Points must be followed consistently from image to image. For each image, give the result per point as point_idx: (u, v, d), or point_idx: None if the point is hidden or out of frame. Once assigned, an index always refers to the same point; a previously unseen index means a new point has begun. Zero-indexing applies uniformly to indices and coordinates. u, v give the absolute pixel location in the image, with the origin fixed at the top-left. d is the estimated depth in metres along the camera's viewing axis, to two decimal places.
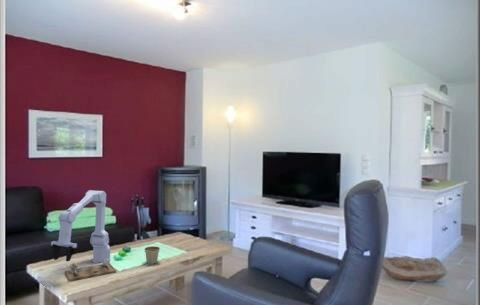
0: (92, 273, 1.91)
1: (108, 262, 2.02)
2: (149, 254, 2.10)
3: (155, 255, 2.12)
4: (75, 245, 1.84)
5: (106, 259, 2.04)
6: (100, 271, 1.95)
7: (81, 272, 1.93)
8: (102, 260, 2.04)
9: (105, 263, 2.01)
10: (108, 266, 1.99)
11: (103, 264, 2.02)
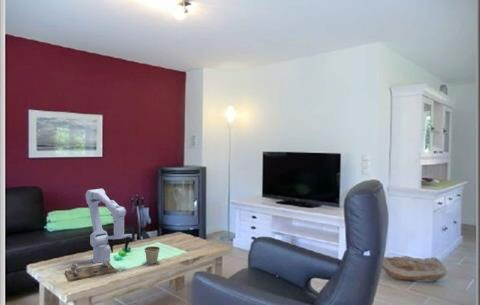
0: (92, 273, 1.91)
1: (108, 262, 2.02)
2: (149, 254, 2.10)
3: (155, 255, 2.12)
4: None
5: (106, 259, 2.04)
6: (100, 271, 1.95)
7: (81, 272, 1.93)
8: (102, 260, 2.04)
9: (105, 263, 2.01)
10: (108, 266, 1.99)
11: (103, 264, 2.02)
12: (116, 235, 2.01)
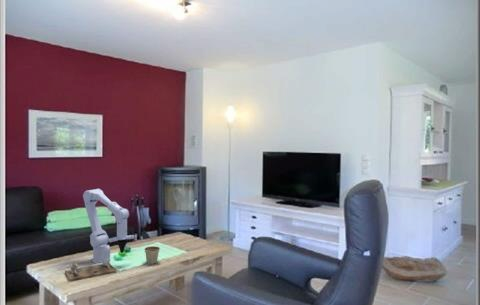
0: (92, 273, 1.91)
1: (108, 262, 2.02)
2: (149, 254, 2.10)
3: (155, 255, 2.12)
4: None
5: (106, 259, 2.04)
6: (100, 271, 1.95)
7: (81, 272, 1.93)
8: (102, 260, 2.04)
9: (105, 263, 2.01)
10: (108, 266, 1.99)
11: (103, 264, 2.02)
12: (120, 236, 2.05)
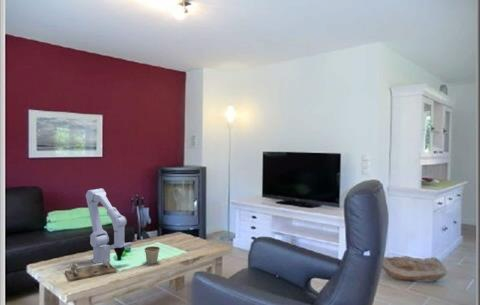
0: (92, 273, 1.91)
1: (108, 262, 2.02)
2: (149, 254, 2.10)
3: (155, 255, 2.12)
4: None
5: (106, 259, 2.04)
6: (100, 271, 1.95)
7: (81, 272, 1.93)
8: (102, 260, 2.04)
9: (105, 263, 2.01)
10: (108, 266, 1.99)
11: (103, 264, 2.02)
12: (117, 244, 2.05)
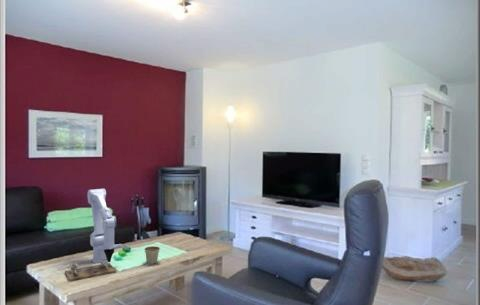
0: (92, 273, 1.91)
1: (106, 262, 2.02)
2: (149, 254, 2.10)
3: (155, 255, 2.12)
4: None
5: (104, 259, 2.03)
6: (100, 271, 1.95)
7: (81, 272, 1.93)
8: None
9: (103, 263, 2.01)
10: (106, 266, 1.98)
11: (101, 264, 2.02)
12: (107, 246, 2.01)
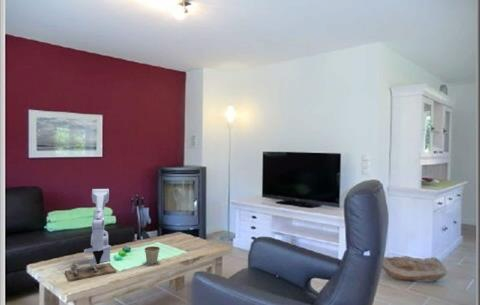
0: (92, 273, 1.91)
1: (95, 264, 1.98)
2: (149, 254, 2.10)
3: (155, 255, 2.12)
4: None
5: (93, 261, 1.99)
6: (100, 271, 1.95)
7: (81, 272, 1.93)
8: None
9: (92, 265, 1.97)
10: (95, 268, 1.94)
11: (90, 266, 1.98)
12: (95, 247, 1.98)
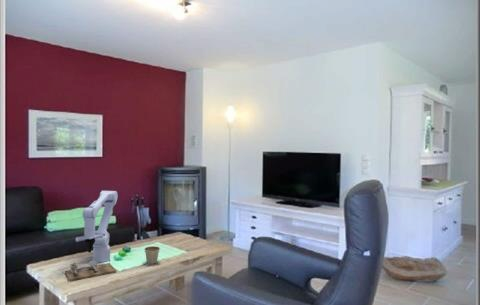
0: (92, 273, 1.91)
1: (95, 264, 1.98)
2: (149, 254, 2.10)
3: (155, 255, 2.12)
4: None
5: (93, 261, 1.99)
6: (100, 271, 1.95)
7: (81, 272, 1.93)
8: None
9: (92, 265, 1.97)
10: (95, 268, 1.94)
11: (90, 266, 1.98)
12: (87, 235, 2.00)
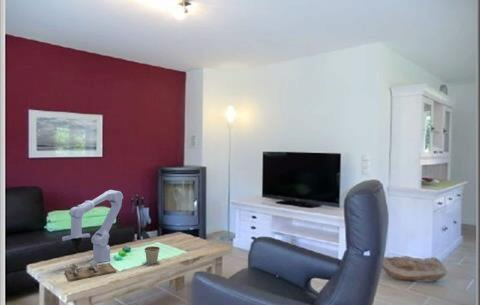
0: (92, 273, 1.91)
1: (95, 264, 1.98)
2: (149, 254, 2.10)
3: (155, 255, 2.12)
4: None
5: (93, 261, 1.99)
6: (100, 271, 1.95)
7: (81, 272, 1.93)
8: None
9: (92, 265, 1.97)
10: (95, 268, 1.94)
11: (90, 266, 1.98)
12: (73, 235, 2.01)
